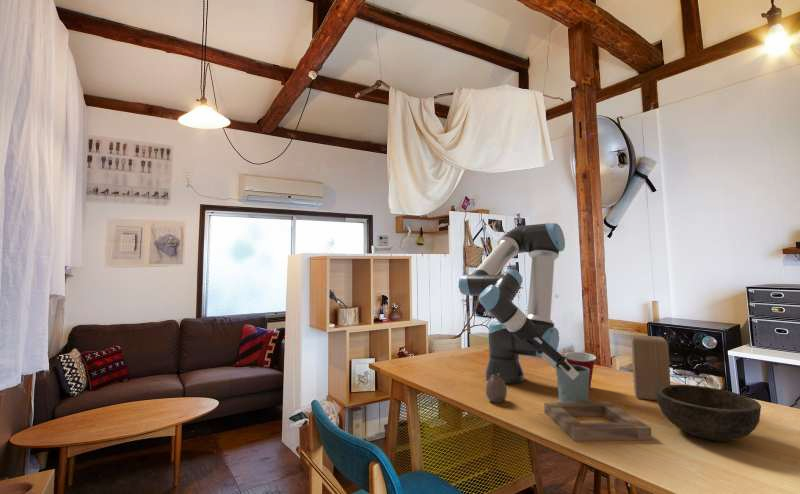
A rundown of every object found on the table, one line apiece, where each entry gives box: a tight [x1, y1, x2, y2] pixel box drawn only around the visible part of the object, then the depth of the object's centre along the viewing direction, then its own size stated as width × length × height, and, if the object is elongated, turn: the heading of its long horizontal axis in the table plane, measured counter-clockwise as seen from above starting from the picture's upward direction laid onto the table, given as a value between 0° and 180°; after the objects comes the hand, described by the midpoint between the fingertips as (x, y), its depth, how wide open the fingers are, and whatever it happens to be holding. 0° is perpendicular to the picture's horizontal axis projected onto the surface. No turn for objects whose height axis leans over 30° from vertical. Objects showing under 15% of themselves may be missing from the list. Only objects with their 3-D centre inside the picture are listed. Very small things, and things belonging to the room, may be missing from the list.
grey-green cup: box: [555, 365, 590, 402], centre depth 125 cm, size 10×10×12 cm
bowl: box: [656, 384, 762, 442], centre depth 101 cm, size 22×22×10 cm
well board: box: [543, 400, 653, 442], centre depth 109 cm, size 20×20×3 cm
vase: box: [485, 374, 508, 404], centre depth 130 cm, size 7×7×9 cm
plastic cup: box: [563, 351, 597, 390], centre depth 143 cm, size 11×11×12 cm
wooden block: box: [631, 334, 671, 402], centre depth 133 cm, size 10×10×20 cm
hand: (565, 370), depth 125 cm, fingers open, 13 cm apart
